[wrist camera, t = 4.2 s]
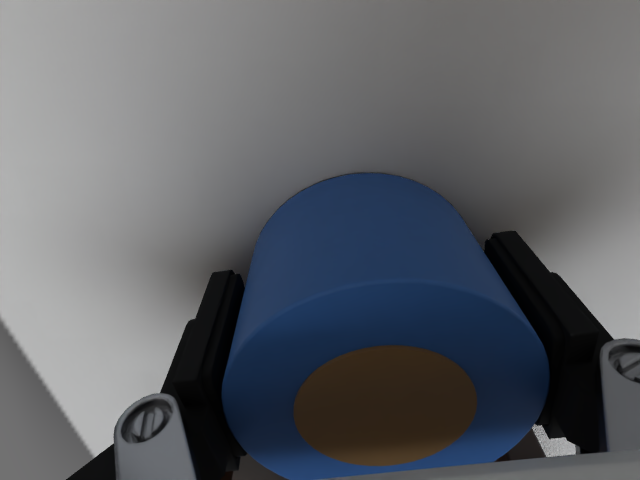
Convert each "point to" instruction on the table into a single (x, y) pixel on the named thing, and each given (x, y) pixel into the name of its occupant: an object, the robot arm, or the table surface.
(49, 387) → the table surface
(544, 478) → the robot arm
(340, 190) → the tape
